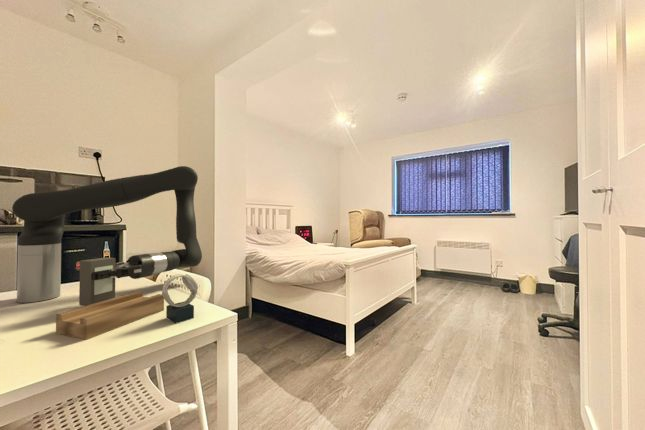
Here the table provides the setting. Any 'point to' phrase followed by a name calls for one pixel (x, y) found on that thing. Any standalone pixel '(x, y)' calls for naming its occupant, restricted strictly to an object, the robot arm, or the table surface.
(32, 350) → the table surface
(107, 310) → the wooden channel tray
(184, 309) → the watch
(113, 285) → the tall taupe pillar block
